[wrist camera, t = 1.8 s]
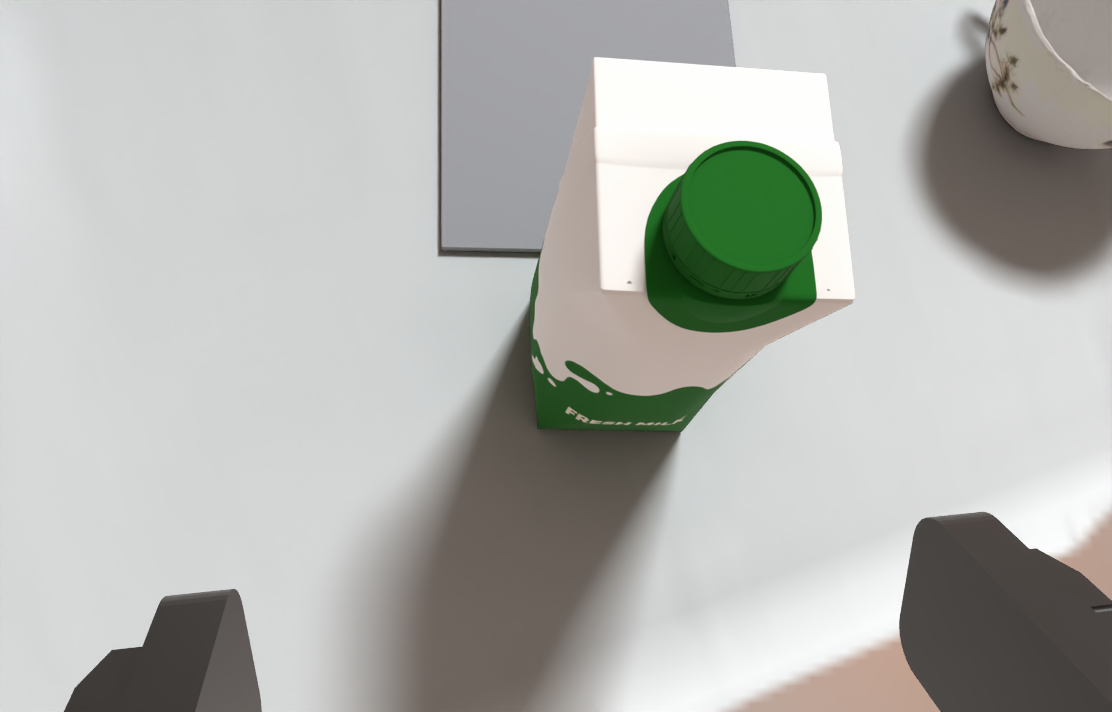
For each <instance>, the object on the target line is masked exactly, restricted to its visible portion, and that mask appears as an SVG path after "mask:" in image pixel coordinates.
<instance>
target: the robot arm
mask: <svg viewBox="0 0 1112 712" xmlns="http://www.w3.org/2000/svg"><path fill="white" fill-rule="evenodd" d="M899 629H900V638H901V643H902V648H903V651H904V654H905V657H906V660H907V662H908V664H909V666H910V668H911V670H912V671H913V673H914V675H915V676H916V678H917V679H918V680H919V682H920V683H921V684H922V686H923V687H924V689H925V690H926V692H927V693H928V694H929V696H930V697H931V699H932V700H933V701H934V703H935V704H936V706H937V707H938V708H939V710H940V711H941V712H1112V601H1111V600H1110V599H1109V598H1108V597H1107V596H1106V595H1104V594H1103V593H1102V592H1101V591H1100V590H1099V589H1098V588H1097V587H1096V586H1095V585H1094V584H1092V583H1091V582H1090V581H1089V580H1088V579H1087V578H1086V577H1085V576H1083V575H1082V574H1081V573H1080V572H1078V571H1076V570H1074V569H1073V568H1071V567H1069V566H1067V565H1065V564H1063V563H1062V562H1060V561H1058V560H1056V559H1054V558H1052V557H1051V556H1049V555H1047V554H1045V553H1043V552H1041V551H1040V550H1038V549H1029V548H1027V547H1026V546H1025V545H1024V544H1023V543H1022V542H1021V541H1020V540H1019V539H1018V538H1017V537H1016V536H1015V535H1014V534H1013V533H1012V532H1011V531H1009V530H1008V529H1007V528H1006V527H1005V526H1004V525H1003V524H1002V523H1001V522H1000V521H999V520H998V519H997V518H995V517H994V516H993V515H991V514H989V513H986V512H977V513H967V514H958V515H948V516H939V517H929V518H924V519H922V520H921V521H920V522H919V523H918V525H917V526H916V529H915V532H914V536H913V542H912V548H911V554H910V560H909V566H908V572H907V578H906V583H905V589H904V595H903V601H902V607H901V613H900V621H899ZM64 712H262V710H261V699H260V692H259V687H258V682H257V677H256V672H255V667H254V661H253V656H252V651H251V646H250V641H249V636H248V631H247V626H246V621H245V615H244V610H243V606H242V601H241V598H240V595H239V593H238V592H237V590H235V589H230V590H220V591H211V592H201V593H192V594H182V595H173V596H165V597H164V598H163V599H162V600H161V602H160V604H159V606H158V608H157V611H156V613H155V616H154V618H153V621H152V624H151V626H150V629H149V631H148V634H147V636H146V639H145V642H144V644H143V647H136V648H127V649H118V650H112V651H111V652H110V653H109V654H108V655H107V656H106V657H105V658H104V659H103V660H102V661H101V662H100V663H99V664H98V665H97V666H96V667H95V668H94V669H93V670H92V671H91V672H90V673H89V674H88V675H87V676H86V677H85V678H84V679H83V680H82V681H81V682H80V683H79V684H78V685H77V686H76V688H75V689H74V691H73V693H72V695H71V698H70V700H69V702H68V704H67V706H66V708H65V711H64Z"/></svg>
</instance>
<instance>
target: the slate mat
mask: <svg viewBox="0 0 1112 712" xmlns="http://www.w3.org/2000/svg"><path fill="white" fill-rule="evenodd" d="M594 57H601V58H615V59H629V60H642V61H656V62H670V63H683V64H697V65H711V66H724V67H736V65H735V56H734V48H733V39H732V31H731V22H730V14H729V5H728V0H441V250H449V251H497V252H541V249H542V245H543V242H544V238H545V235H546V231H547V227H548V224H549V220H550V217H551V213H552V210H553V206H554V203H555V200H556V197H557V194H558V191H559V183H560V181H561V178H562V176H563V174H564V171H565V167H566V164H567V160H568V156H569V152H570V149H571V145H572V141H573V137H574V134H575V130H576V126H577V122H578V118H579V115H580V111H581V107H582V103H583V100H584V96H585V92H586V88H587V84H588V81H589V77H590V72H591V68H592V63H593V59H594Z"/></svg>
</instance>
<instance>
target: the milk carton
mask: <svg viewBox="0 0 1112 712" xmlns="http://www.w3.org/2000/svg"><path fill="white" fill-rule="evenodd" d="M842 175H843V169H842V159H841V152H840V146H839V143H838V142H835V141H834V135H833V127H832V119H831V111H830V103H829V94H828V87H827V79H826V75H825V74H819V73H806V72H793V71H779V70H765V69H752V68H738V67H724V66H711V65H697V64H683V63H670V62H656V61H642V60H629V59H615V58H601V57H594V59H593V63H592V68H591V72H590V77H589V81H588V84H587V88H586V92H585V96H584V100H583V103H582V107H581V111H580V115H579V118H578V122H577V126H576V130H575V134H574V137H573V141H572V145H571V149H570V152H569V156H568V160H567V164H566V167H565V171H564V174H563V176H562V178H561V181H560V183H559V191H558V194H557V197H556V200H555V203H554V206H553V210H552V213H551V217H550V220H549V224H548V227H547V231H546V235H545V238H544V242H543V245H542V249H541V252H540V256H539V260H538V263H537V267H536V270H535V274H534V278H533V282H532V287H531V297H530V338H531V363H532V375H533V384H534V393H535V403H536V414H537V427H538V429H562V430H617V431H673V432H682V431H683V430H684V428H685V427H686V426H687V425H688V424H689V422H690V421H691V420H692V419H693V418H694V416H695V415H696V414H697V413H698V411H699V410H700V409H701V408H702V407H703V405H704V404H705V403H706V402H707V401H708V399H709V398H710V397H711V396H712V394H713V393H714V392H715V391H716V390H717V389H718V388H720V387H721V386H722V385H723V384H724V383H725V382H726V381H727V380H728V379H729V378H730V377H732V376H733V375H734V374H735V373H736V372H737V371H738V370H739V369H740V368H741V367H743V366H744V365H745V364H746V363H747V362H748V361H749V360H750V359H751V358H752V357H754V356H755V355H756V354H757V353H758V352H759V351H760V350H761V349H762V348H763V347H765V346H766V345H768V344H770V343H772V342H774V341H776V340H778V339H780V338H782V337H784V336H786V335H788V334H790V333H792V332H794V331H796V330H798V329H800V328H802V327H804V326H807V325H809V324H811V323H813V322H815V321H817V320H819V319H821V318H823V317H825V316H827V315H829V314H831V313H833V312H835V311H838V310H840V309H842V308H844V307H846V306H848V305H850V304H852V303H853V300H854V299H855V292H854V282H853V273H852V264H851V255H850V245H849V236H848V227H847V218H846V209H845V200H844V192H843V183H842Z"/></svg>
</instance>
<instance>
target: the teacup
mask: <svg viewBox="0 0 1112 712" xmlns="http://www.w3.org/2000/svg"><path fill="white" fill-rule="evenodd" d="M985 55H986V68H987V74H988V79H989V83H990V86H991V89H992V92H993V97H994V100H995V103H996V106H997V108H998V110H999V112H1000V113H1001V115H1002V116H1003V118H1004V119H1005V120H1006V121H1007V122H1008V123H1009V124H1010V125H1011V126H1012V127H1013V128H1014V129H1015V130H1016V131H1018V132H1019V133H1021V134H1023V135H1025V136H1027V137H1029V138H1032V139H1035V140H1039V141H1043V142H1048V143H1051V144H1055V145H1058V146H1063V147H1069V148H1078V149H1109V148H1112V0H996V2H995V5H994V7H993V10H992V14H991V18H990V21H989V25H988V30H987V36H986V43H985Z"/></svg>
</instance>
